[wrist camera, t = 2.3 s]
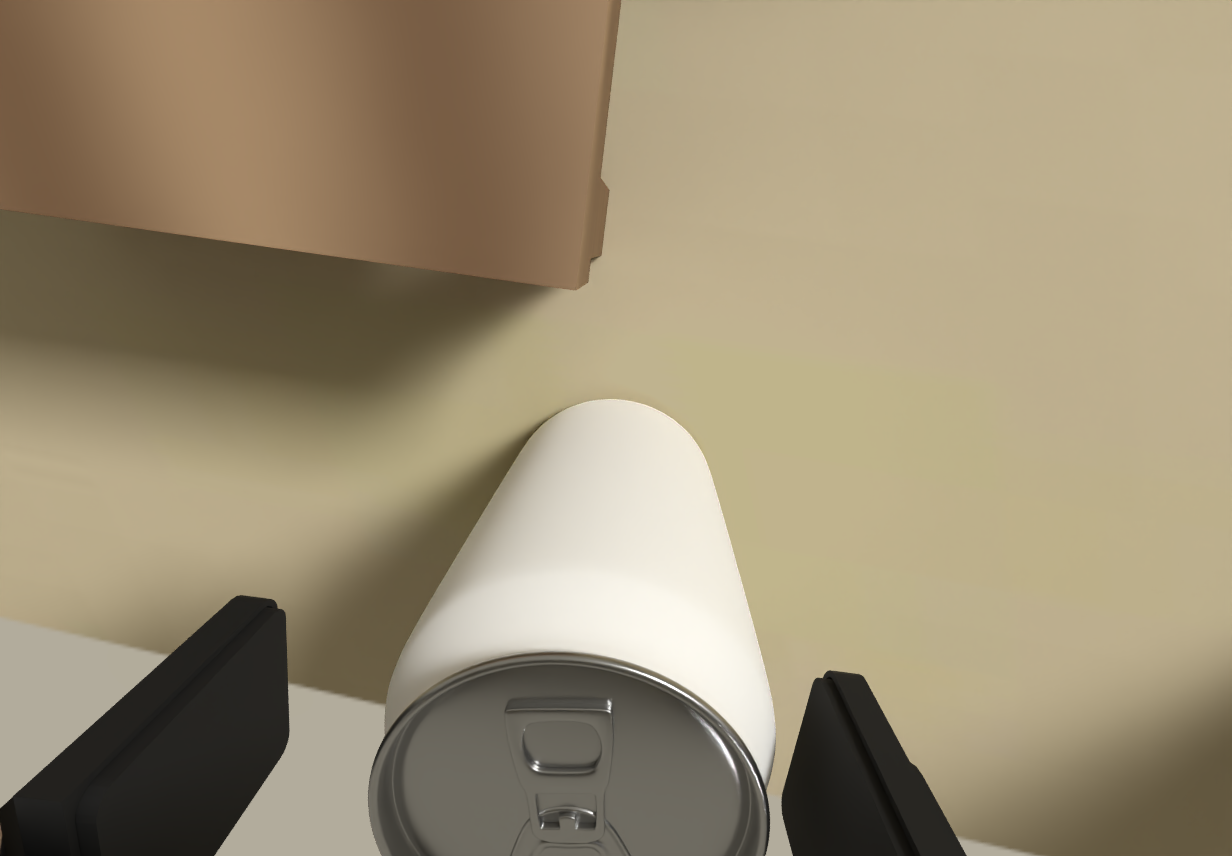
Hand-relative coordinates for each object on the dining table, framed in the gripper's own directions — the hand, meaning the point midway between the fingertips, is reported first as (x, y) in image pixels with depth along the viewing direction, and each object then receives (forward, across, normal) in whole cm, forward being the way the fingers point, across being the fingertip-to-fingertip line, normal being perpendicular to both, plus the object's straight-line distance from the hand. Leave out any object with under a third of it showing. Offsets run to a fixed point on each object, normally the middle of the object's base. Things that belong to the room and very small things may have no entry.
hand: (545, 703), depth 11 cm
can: (+10, -1, 0) cm, 10 cm away
